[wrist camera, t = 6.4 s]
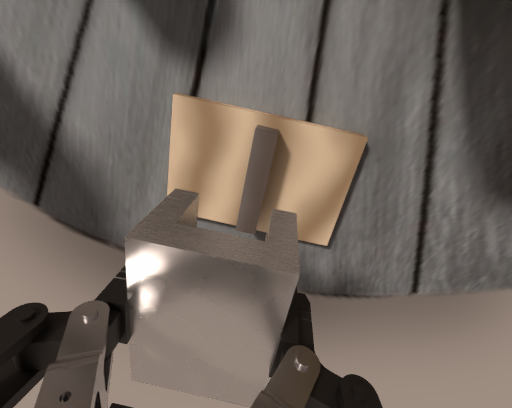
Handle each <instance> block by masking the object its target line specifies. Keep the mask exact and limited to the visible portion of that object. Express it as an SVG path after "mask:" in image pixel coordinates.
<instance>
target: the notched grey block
mask: <svg viewBox="0 0 512 408" xmlns="http://www.w3.org/2000/svg"><path fill="white" fill-rule="evenodd" d="M199 195H200V193H196V192H191V191H187V190H182V189H177V188H175V189H174V190H173V191H172V192H171V193H170V194H169V195H168V196H167V197H166V198H165V199H164V200H163V201H162V202H161V203H160V204H159V205H158V206H156V207H155V208H154V209H153V210H152V211H151V212H150V213H149V214H148V215H147V216H146V217H145V218H144V219H143V220H142V221H141V222H140V223H139V224H138V225H136V226H135V227H134V228H133V229H132V230H131V231H130V232H129V233H128V234H127V235H126V236H125V237H124V239H125V258H126V280H127V299H129V310H130V332H131V338H130V340H129V341H130V359H131V360H130V361H131V379H132V380H133V381H138V382H142V383H146V384H151V385H155V386H159V387H164V388H168V389H173V390H177V391H181V392H185V393H190V394H195V395H199V396H203V397H207V398H212V399H216V400H220V401H225V402H229V403H233V404H238V405H242V406H246V407H251V406H252V404H253V402H254V401H255V399H256V398H257V396H258V394H259V393H260V392H261V391H262V390H264V387H265V384H266V381H267V378H268V374H269V369H270V366H271V362H272V359H273V356H274V353H275V350H276V346H277V343H278V340H279V337H280V334H281V333H282V330H283V327H284V323H285V320H286V317H287V314H288V311H289V307H290V304H291V301H292V298H293V295H294V291H295V288H296V285H297V282H298V279H299V275H300V270H299V250H298V231H297V213H293V212H288V211H283V210H278V209H273V208H272V211H271V216H270V220H269V225H268V229H267V234H266V238H265V242H264V241H259V240H255V239H250V238H245V237H240V236H236V235H231V234H226V233H222V232H217V231H212V230H207V229H203V228H198V227H197V217H198V206H199Z"/></svg>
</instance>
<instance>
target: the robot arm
mask: <svg viewBox="0 0 512 408" xmlns="http://www.w3.org/2000/svg"><path fill="white" fill-rule="evenodd" d="M130 338H131V332H130V310H129V299H127V280H126V265H125V266H124V268H123V269H122V270H121V272H119V273H118V274H117V275H116V277H115V278H114V279H113V280H112V281H111V282H110V283H109V284H108V286H107V287H106V288H105V289H104V290H103V291H102V292H101V293H100V294H99V296H98V297H97V298H96V299H95V300H94V301H88V302H85V303H83V304H81V305H79V306H78V307H76V308H75V309H74V310H73V311H70V312H55V313H49V312H48V308H47V307H46V306H45V305H44V304H41V303H28V304H24V305H21V306H19V307H16V308H14V309H13V310H11V311H10V312H8V313H7V314H5V315H4V316H2V317H1V318H0V408H13V407H14V406H15V405H16V404H17V403H18V402H19V401H20V400H21V399H22V398H23V397H24V396H25V395H26V394H27V393H28V392H29V391H30V390H31V389H32V388H33V387H34V386H35V385H36V384H37V383H38V382H39V381H40V380H41V379H42V378H43V377H44V379H43V382H42V385H41V388H40V391H39V394H38V397H37V400H36V403H35V406H34V408H108V394H109V385H110V378H111V369H112V361H113V350H114V348H115V347H116V345H117V344H118V342H119V343H124V344H127V343H128V342H129V340H130ZM269 377H271V379H270V381H269V383H268V384H267V386H266V388H265V389H264V390H262V391H261V392H260V393H259V394H258V396H257V398H256V399H255V401H254V402H253V404H252V406H251V407H250V408H382V405H381V402H380V400H379V398H378V395H377V393H376V391H375V389H374V388H373V386H372V385H371V384H370V383H369V382H368V381H367V380H365V379H364V378H362V377H360V376H358V375H354V374H350V375H346V376H345V377H344V378H341V377H339V376H338V375H336V374H334V373H332V372H331V371H329V370H328V369H326V368H325V367H324V366H323V365H322V364H321V363H320V361H319V359H318V357H317V356H316V354H315V351H314V342H313V332H312V322H311V310H310V302H309V301H308V299H307V297H306V295H305V294H301V293H297V285H296V288H295V291H294V295H293V298H292V301H291V304H290V307H289V311H288V314H287V317H286V320H285V323H284V327H283V330H282V333H281V334H280V337H279V340H278V343H277V346H276V350H275V353H274V356H273V359H272V362H271V366H270V369H269ZM110 408H132V407H128V406H124V405H119V404H115V403H112V404H111V406H110Z"/></svg>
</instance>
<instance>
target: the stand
mask: <svg viewBox="0 0 512 408" xmlns="http://www.w3.org/2000/svg"><path fill="white" fill-rule="evenodd" d="M367 140H368V137H366V136H365V135H363V134H359V133H354V132H350V131H345V130H341V129H336V128H332V127H327V126H323V125H318V124H314V123H309V122H305V121H300V120H296V119H292V118H287V117H283V116H278V115H274V114H269V113H265V112H260V111H256V110H251V109H247V108H242V107H238V106H233V105H229V104H224V103H220V102H215V101H211V100H207V99H202V98H198V97H193V96H189V95H184V94H180V93H178V94H173V106H172V123H171V140H170V157H169V174H168V191H167V196H168V195H169V194H170V193H171V192H172V191H173V190H174V189H175V188H177V189H182V190H187V191H191V192H196V193H200V195H199V206H198V217H200V218H204V219H209V220H213V221H217V222H222V223H226V224H231V225H235V226H236V229H235V230H237V231H242V232H246V233H251V234H255V232H256V230H258V231H262V232H267V229H268V225H269V220H270V216H271V211H272V208H273V209H278V210H283V211H288V212H293V213H297V231H298V240H302V241H307V242H311V243H316V244H320V245H325V246H327V244H328V242H329V239H330V236H331V234H332V231H333V229H334V226H335V223H336V221H337V218H338V216H339V213H340V210H341V208H342V205H343V203H344V200H345V197H346V195H347V192H348V189H349V187H350V184H351V182H352V179H353V176H354V174H355V171H356V169H357V166H358V163H359V161H360V158H361V156H362V153H363V150H364V148H365V145H366V143H367Z"/></svg>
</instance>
